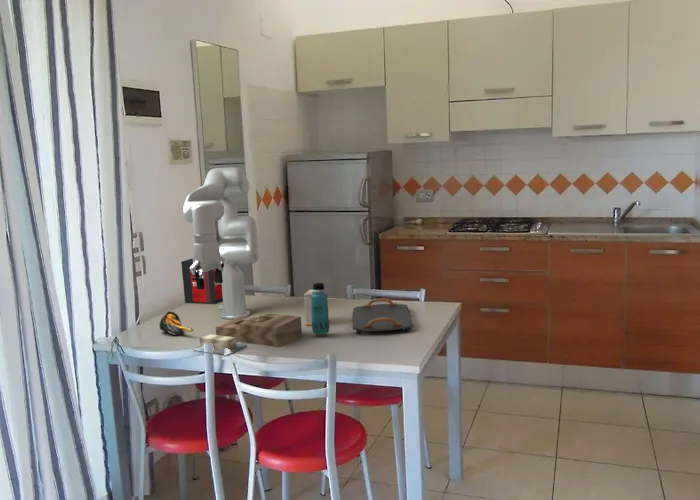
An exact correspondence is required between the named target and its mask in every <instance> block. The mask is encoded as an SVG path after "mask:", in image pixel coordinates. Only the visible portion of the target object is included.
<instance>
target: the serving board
mask: <svg viewBox="0 0 700 500" xmlns="http://www.w3.org/2000/svg"><path fill="white" fill-rule="evenodd" d="M377 302H379V303H380V304H379V303H377ZM381 302H386V303H381ZM373 303H375V304H373ZM413 327H414V323H413V318H412V315H411V311H410V310H409V307H408V304H398V303H397V302H393V301H392V300H391V299H389V298H384V297H383V298H381V297H380V298H374V299H371V300H370V301H368V303H367V304H363V305H362V306H361V305H360V306H355V307H353V309H352V330H353V331H355V333H356V335H362V334H363V332H376V331H377V332H382V331H383V332H384V331H396V330H404V333H411V328H413Z"/></svg>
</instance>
